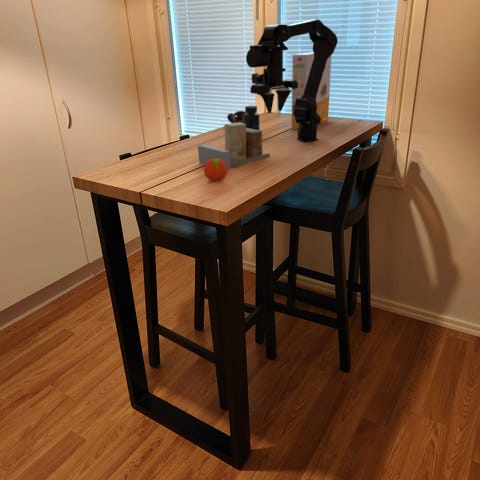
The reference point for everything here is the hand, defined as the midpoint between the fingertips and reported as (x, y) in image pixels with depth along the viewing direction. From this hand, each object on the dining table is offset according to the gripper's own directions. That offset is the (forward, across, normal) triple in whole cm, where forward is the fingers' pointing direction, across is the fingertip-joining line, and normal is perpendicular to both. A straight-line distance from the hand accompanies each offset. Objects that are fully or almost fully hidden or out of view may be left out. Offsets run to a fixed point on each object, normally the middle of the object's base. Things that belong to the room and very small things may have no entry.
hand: (274, 111), depth 154 cm
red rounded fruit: (+13, +40, +15) cm, 44 cm away
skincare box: (+13, +20, +1) cm, 24 cm away
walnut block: (+13, +14, +1) cm, 19 cm away
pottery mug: (+13, -16, -38) cm, 43 cm away
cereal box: (+13, -39, -16) cm, 44 cm away
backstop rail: (+13, +21, +1) cm, 24 cm away
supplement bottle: (+13, -8, -21) cm, 26 cm away
